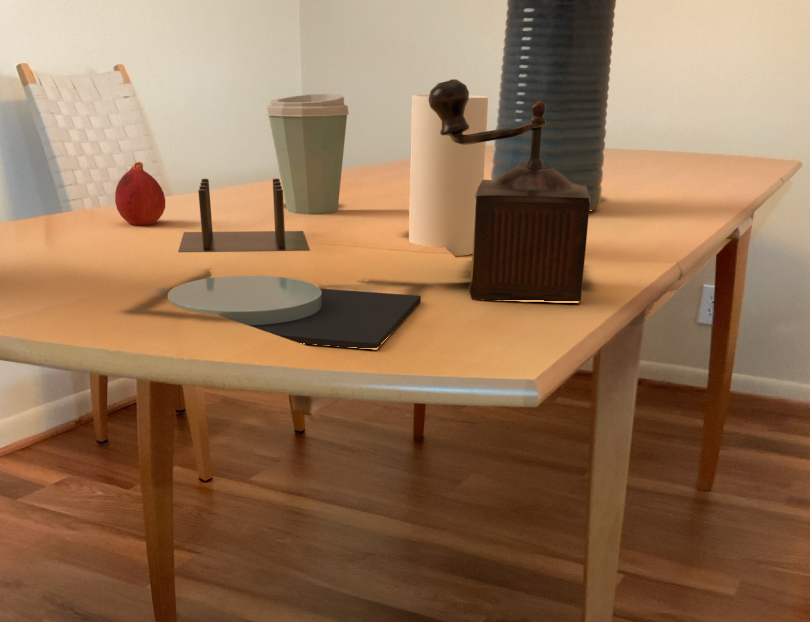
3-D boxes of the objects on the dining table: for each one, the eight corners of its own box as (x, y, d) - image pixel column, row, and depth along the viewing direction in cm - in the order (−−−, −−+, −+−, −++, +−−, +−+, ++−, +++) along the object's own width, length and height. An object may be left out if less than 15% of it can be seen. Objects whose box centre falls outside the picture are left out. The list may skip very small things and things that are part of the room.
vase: (622, 209, 135) (653, -43, 120) (551, 220, 125) (575, -53, 111) (537, 196, 146) (556, -37, 131) (465, 205, 136) (477, -46, 121)
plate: (351, 296, 77) (271, 269, 86) (214, 319, 70) (141, 287, 79) (351, 310, 78) (271, 282, 87) (215, 335, 71) (143, 301, 80)
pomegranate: (133, 237, 109) (124, 165, 105) (110, 230, 112) (101, 160, 109) (176, 232, 112) (169, 162, 108) (153, 226, 116) (146, 158, 112)
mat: (136, 330, 74) (135, 323, 73) (216, 287, 87) (215, 280, 87) (377, 351, 70) (377, 343, 69) (420, 302, 84) (420, 295, 83)
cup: (453, 259, 101) (460, 98, 93) (394, 249, 105) (396, 95, 98) (493, 248, 107) (502, 96, 99) (435, 240, 111) (440, 93, 103)
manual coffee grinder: (577, 279, 93) (597, 81, 85) (582, 305, 83) (606, 85, 75) (425, 272, 95) (430, 78, 86) (413, 298, 85) (418, 81, 76)
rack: (310, 259, 99) (308, 191, 96) (178, 261, 97) (171, 191, 94) (303, 239, 110) (301, 177, 106) (184, 240, 108) (178, 177, 104)
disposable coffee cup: (318, 226, 118) (315, 97, 110) (254, 218, 123) (247, 94, 115) (365, 216, 125) (365, 95, 118) (303, 208, 130) (299, 92, 123)
